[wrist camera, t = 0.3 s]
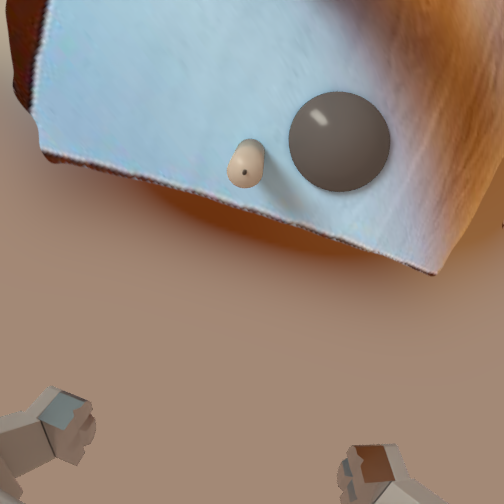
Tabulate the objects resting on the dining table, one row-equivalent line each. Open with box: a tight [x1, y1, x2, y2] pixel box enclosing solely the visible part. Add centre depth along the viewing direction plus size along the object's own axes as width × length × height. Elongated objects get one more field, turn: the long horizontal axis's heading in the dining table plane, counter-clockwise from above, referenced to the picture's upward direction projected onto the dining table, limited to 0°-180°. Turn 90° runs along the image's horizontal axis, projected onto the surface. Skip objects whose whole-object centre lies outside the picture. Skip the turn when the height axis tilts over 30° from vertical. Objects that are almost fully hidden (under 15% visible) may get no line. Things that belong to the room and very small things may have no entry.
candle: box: [227, 139, 265, 188], centre depth 48 cm, size 5×5×13 cm
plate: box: [289, 92, 390, 192], centre depth 51 cm, size 18×18×1 cm
